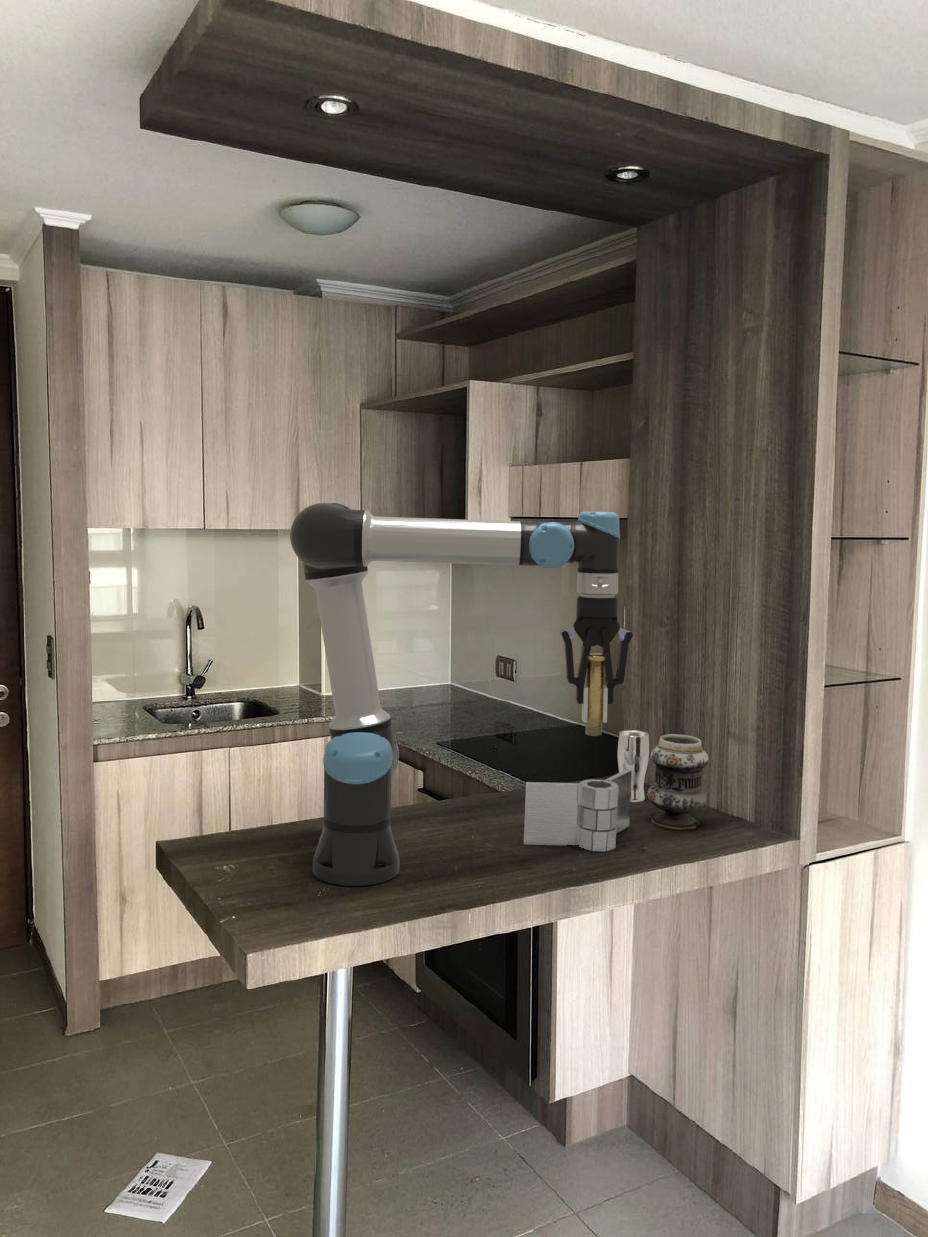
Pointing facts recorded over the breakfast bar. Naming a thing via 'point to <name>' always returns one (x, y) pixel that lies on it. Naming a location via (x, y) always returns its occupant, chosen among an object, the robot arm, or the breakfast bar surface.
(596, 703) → the brass pin
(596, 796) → the hinge fixed leaf
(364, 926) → the breakfast bar surface
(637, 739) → the beer glass
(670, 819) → the apothecary jar
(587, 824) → the hinge swing leaf
